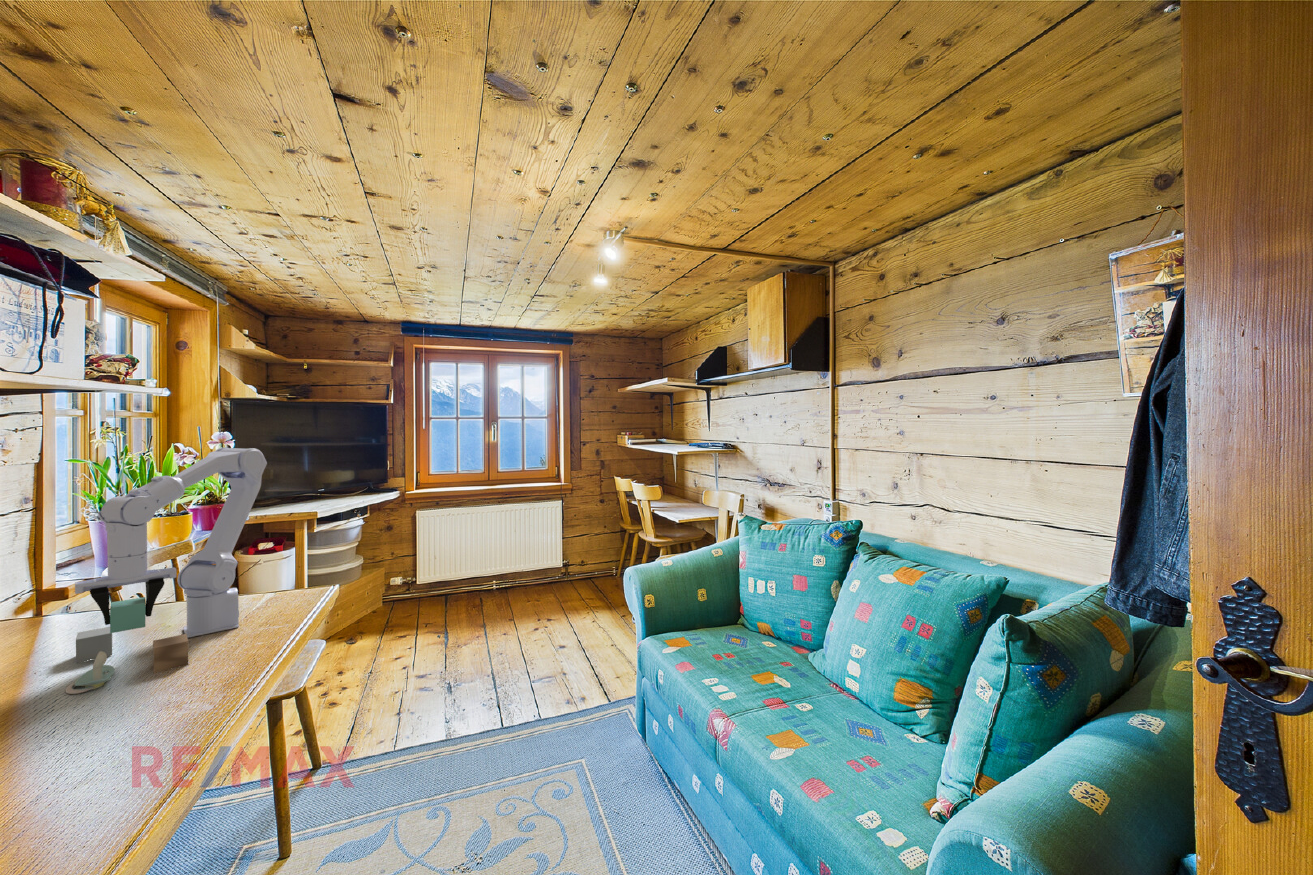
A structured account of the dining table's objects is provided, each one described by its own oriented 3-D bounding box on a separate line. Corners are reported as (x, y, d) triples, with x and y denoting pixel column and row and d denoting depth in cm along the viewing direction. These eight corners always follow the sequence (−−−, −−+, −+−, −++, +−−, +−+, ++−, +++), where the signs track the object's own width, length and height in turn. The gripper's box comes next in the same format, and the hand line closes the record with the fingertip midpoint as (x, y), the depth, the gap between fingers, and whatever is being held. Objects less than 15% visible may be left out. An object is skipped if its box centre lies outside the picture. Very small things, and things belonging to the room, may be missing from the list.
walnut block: (186, 657, 108) (186, 633, 108) (188, 665, 104) (188, 640, 104) (153, 664, 104) (153, 640, 104) (154, 673, 101) (153, 648, 101)
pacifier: (60, 701, 91) (109, 689, 95) (58, 666, 91) (107, 656, 94) (71, 684, 96) (116, 674, 100) (69, 652, 96) (114, 642, 100)
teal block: (145, 620, 110) (145, 596, 109) (145, 626, 106) (145, 602, 106) (111, 626, 106) (111, 602, 106) (110, 633, 103) (110, 608, 102)
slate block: (112, 648, 111) (112, 626, 111) (111, 656, 108) (111, 632, 107) (77, 655, 108) (77, 632, 107) (76, 663, 104) (75, 639, 104)
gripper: (172, 545, 114) (172, 605, 114) (73, 557, 103) (74, 624, 103) (177, 550, 109) (178, 613, 110) (75, 564, 98) (76, 633, 99)
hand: (128, 619), depth 106 cm, fingers closed on teal block, 5 cm apart
